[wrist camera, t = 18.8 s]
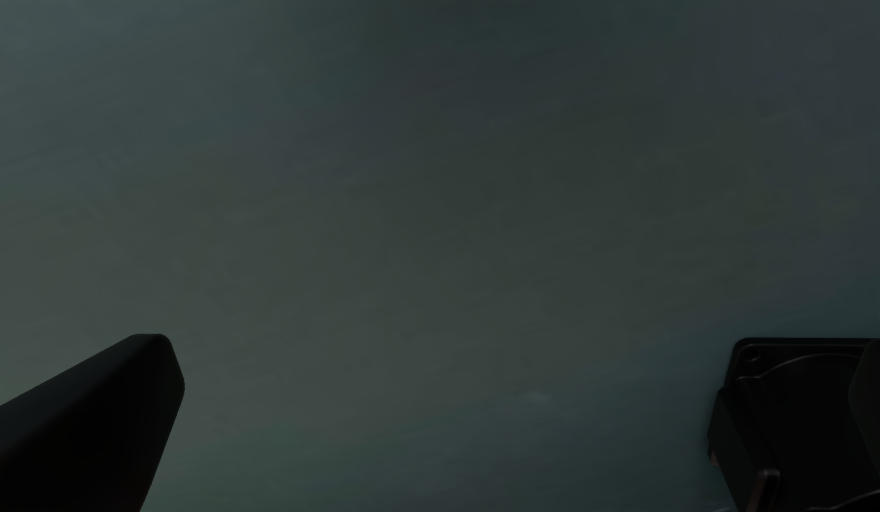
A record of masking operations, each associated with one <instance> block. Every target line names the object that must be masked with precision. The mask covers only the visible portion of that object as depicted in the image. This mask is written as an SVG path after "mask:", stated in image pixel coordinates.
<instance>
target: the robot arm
mask: <svg viewBox="0 0 880 512" xmlns="http://www.w3.org/2000/svg"><path fill="white" fill-rule="evenodd" d="M749 350H754V351H753V352H751V353H747V354H745V353H746V352H748V351H749ZM184 391H185V383H184V378H183V375H182V372H181V369H180V366H179V364H178V361H177V358H176V355H175V353H174V350H173V347H172V344H171V342H170V340H169V339H168V338H167V337H166V336H165V335H162V334H135V335H131V336H129V337H127V338H126V339H124V340H122V341H120V342H118V343H116V344H114V345H113V346H111V347H109V348H107V349H105V350H103V351H101V352H100V353H98V354H96V355H94V356H92V357H90V358H88V359H87V360H85V361H83V362H81V363H79V364H77V365H75V366H74V367H72V368H70V369H68V370H66V371H64V372H62V373H60V374H59V375H57V376H55V377H53V378H51V379H49V380H47V381H46V382H44V383H42V384H40V385H38V386H36V387H34V388H33V389H31V390H29V391H27V392H25V393H23V394H21V395H20V396H18V397H16V398H14V399H12V400H10V401H8V402H7V403H5V404H3V405H1V406H0V512H140V510H141V507H142V505H143V503H144V501H145V499H146V496H147V494H148V491H149V489H150V486H151V484H152V481H153V478H154V476H155V473H156V470H157V468H158V465H159V462H160V459H161V457H162V454H163V451H164V448H165V446H166V443H167V440H168V438H169V435H170V432H171V429H172V427H173V424H174V421H175V418H176V416H177V413H178V410H179V408H180V405H181V402H182V399H183V396H184ZM707 437H708V439H709V442H710V443H709V447H708V456H709V459H710V461H711V463H712V464H713V465H714V466H716V467H720V468H721V471H722V473H723V476H724V478H725V481H726V483H727V485H728V488H729V490H730V493H731V495H732V498H733V500H734V502H735V505H736V507H737V510H738V512H880V338H745V339H742V340H740V341H739V342H738V343H736V345H735V347H734V349H733V353H732V357H731V361H730V365H729V369H728V373H727V376H726V380H725V384H724V386H723V387H722V388H721V389H720V390H719V391H718V393H717V397H716V401H715V405H714V409H713V413H712V417H711V421H710V425H709V429H708V433H707Z"/></svg>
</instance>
